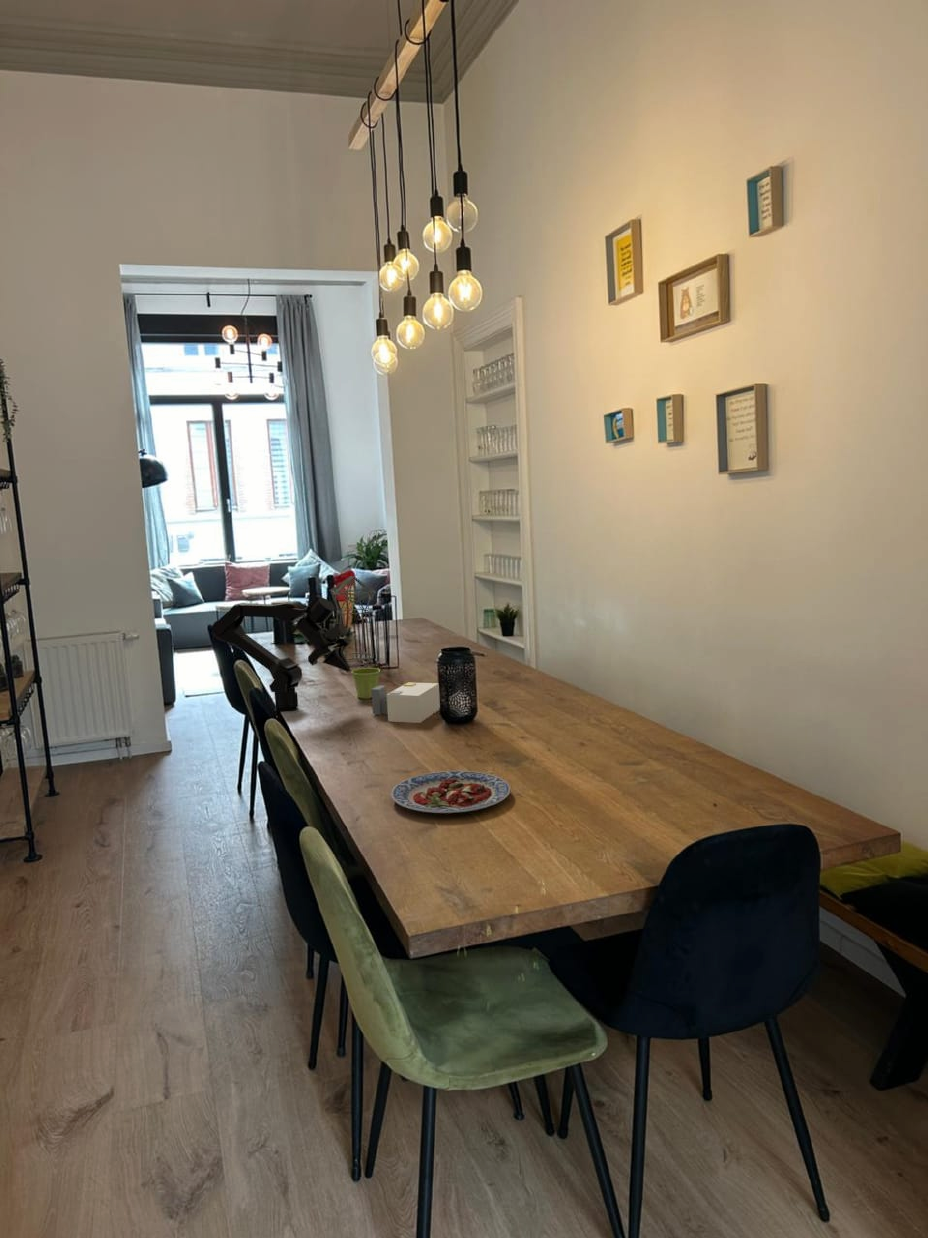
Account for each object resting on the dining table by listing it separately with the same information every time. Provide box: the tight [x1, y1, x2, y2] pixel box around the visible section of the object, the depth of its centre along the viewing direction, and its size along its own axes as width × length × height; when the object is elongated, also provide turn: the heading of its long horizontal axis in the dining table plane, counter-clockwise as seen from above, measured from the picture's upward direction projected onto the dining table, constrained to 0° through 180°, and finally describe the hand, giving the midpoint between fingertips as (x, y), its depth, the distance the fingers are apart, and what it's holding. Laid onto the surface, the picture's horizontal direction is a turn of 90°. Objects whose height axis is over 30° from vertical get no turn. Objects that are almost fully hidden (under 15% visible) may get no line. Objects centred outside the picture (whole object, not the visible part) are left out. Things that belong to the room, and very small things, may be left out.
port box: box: [386, 681, 441, 724], centre depth 264 cm, size 10×16×8 cm, turn 161°
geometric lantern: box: [328, 576, 377, 672], centre depth 335 cm, size 16×16×35 cm
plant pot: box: [351, 667, 381, 700], centre depth 290 cm, size 9×9×9 cm
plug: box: [371, 685, 388, 715], centre depth 267 cm, size 9×5×8 cm, turn 71°
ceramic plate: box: [390, 770, 511, 814], centre depth 193 cm, size 26×26×3 cm
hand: (348, 670), depth 270 cm, fingers closed
